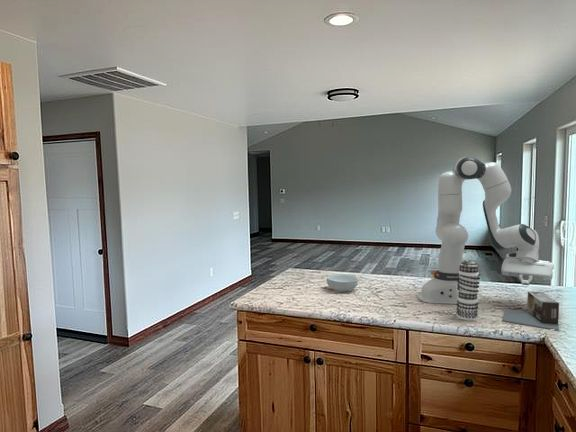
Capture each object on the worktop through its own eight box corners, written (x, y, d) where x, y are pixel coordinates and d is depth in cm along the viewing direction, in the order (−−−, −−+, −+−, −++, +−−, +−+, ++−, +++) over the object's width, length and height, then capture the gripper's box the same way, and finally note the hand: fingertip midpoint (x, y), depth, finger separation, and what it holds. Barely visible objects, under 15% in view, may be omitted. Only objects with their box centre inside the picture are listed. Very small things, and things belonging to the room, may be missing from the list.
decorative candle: (483, 320, 169) (485, 262, 167) (462, 321, 169) (464, 263, 166) (471, 313, 178) (473, 258, 176) (451, 313, 178) (453, 258, 175)
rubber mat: (558, 331, 157) (559, 329, 157) (501, 321, 168) (502, 320, 168) (557, 317, 173) (557, 316, 172) (505, 309, 183) (505, 308, 183)
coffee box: (541, 311, 179) (558, 324, 163) (526, 310, 180) (541, 323, 164) (543, 291, 178) (560, 303, 162) (527, 291, 179) (542, 302, 163)
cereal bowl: (322, 292, 212) (322, 279, 211) (331, 285, 227) (331, 272, 227) (354, 296, 206) (354, 282, 205) (360, 287, 221) (360, 275, 220)
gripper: (553, 265, 182) (552, 291, 175) (503, 261, 193) (500, 285, 186) (554, 257, 178) (553, 283, 171) (502, 253, 189) (499, 277, 182)
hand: (525, 284), depth 179 cm, fingers closed
